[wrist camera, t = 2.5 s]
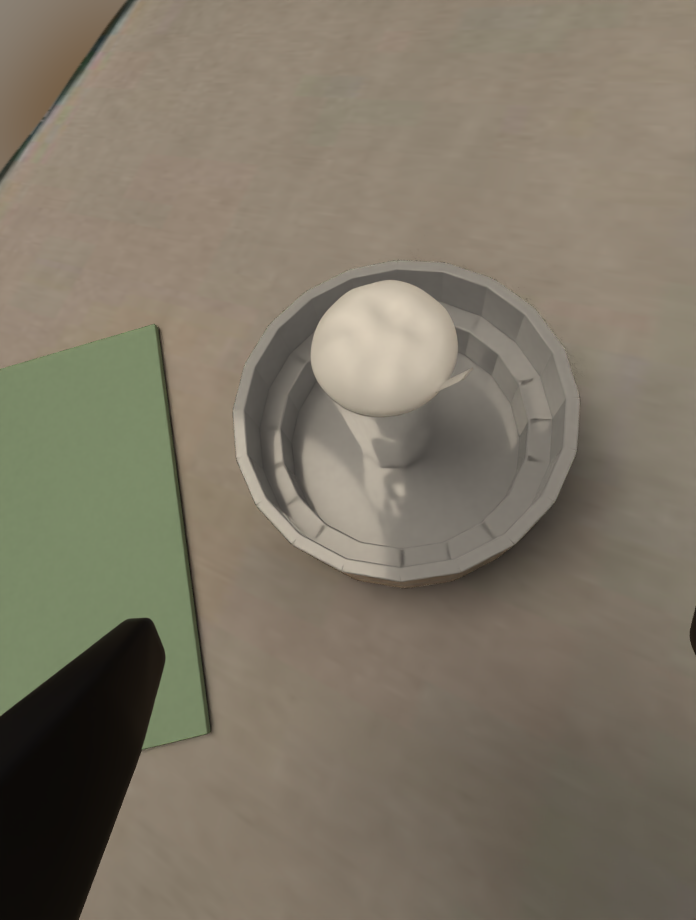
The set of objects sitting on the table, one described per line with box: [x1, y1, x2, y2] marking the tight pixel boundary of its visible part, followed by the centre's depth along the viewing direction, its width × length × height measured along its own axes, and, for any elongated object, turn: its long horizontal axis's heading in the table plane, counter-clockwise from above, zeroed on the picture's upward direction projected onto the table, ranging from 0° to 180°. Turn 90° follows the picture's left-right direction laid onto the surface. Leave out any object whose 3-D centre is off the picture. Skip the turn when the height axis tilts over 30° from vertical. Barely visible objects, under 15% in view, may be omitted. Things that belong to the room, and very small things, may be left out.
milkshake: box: [311, 280, 473, 468], centre depth 18 cm, size 4×5×10 cm
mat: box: [0, 324, 211, 750], centre depth 24 cm, size 20×13×1 cm, turn 13°
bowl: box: [233, 260, 580, 589], centre depth 21 cm, size 13×13×4 cm
